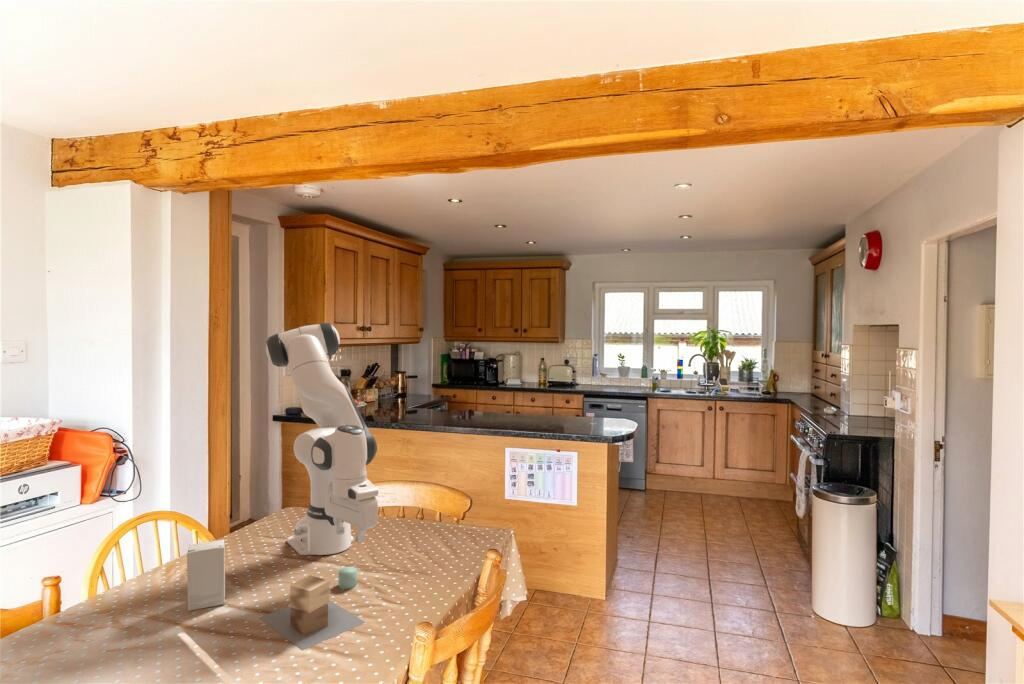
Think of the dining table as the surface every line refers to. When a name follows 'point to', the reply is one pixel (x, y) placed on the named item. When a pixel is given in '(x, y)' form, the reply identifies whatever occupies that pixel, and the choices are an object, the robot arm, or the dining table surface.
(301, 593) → the top block
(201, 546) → the skincare box
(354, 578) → the mint green cylinder
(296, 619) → the bottom block
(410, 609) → the dining table surface
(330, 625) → the board
